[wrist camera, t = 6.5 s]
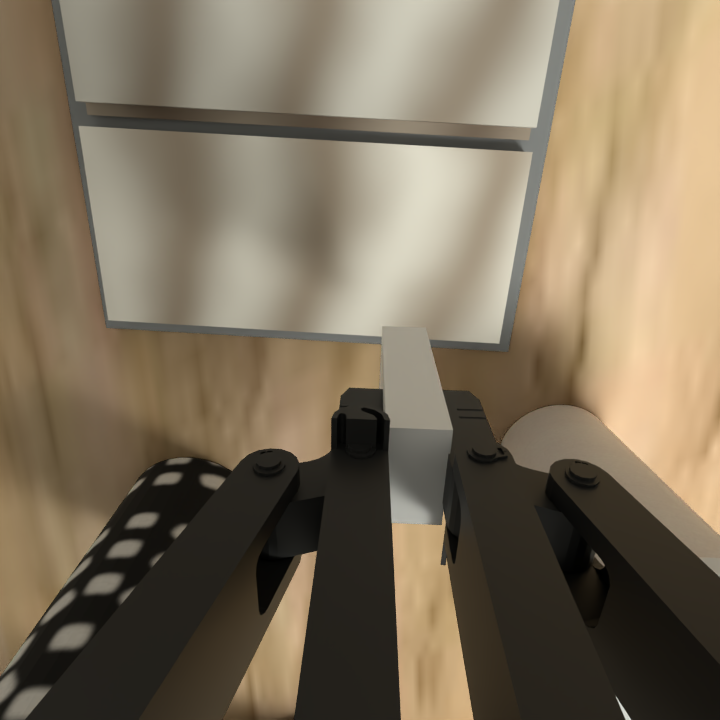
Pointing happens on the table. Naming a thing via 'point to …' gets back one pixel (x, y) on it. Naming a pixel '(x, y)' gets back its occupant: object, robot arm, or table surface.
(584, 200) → the table surface
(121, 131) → the plank
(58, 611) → the spotted tube
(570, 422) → the coffee cup
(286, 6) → the laid board
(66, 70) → the underlay
